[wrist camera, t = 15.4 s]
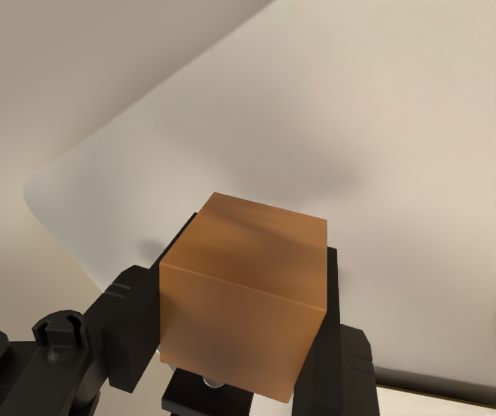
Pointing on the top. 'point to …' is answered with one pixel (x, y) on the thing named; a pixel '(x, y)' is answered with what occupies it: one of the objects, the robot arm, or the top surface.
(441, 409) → the plate
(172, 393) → the black lever base
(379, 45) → the top surface
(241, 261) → the brown wooden cube
